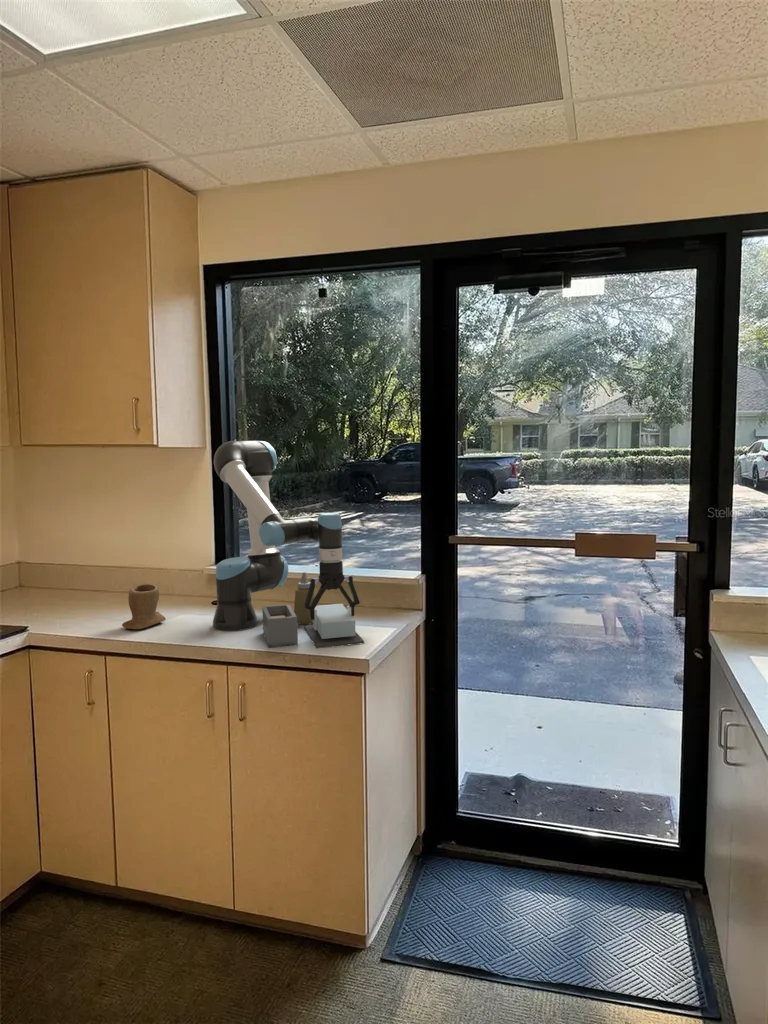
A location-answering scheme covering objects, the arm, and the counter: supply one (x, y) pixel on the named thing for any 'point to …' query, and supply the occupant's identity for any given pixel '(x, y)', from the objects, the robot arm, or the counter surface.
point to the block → (334, 621)
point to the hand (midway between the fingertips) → (332, 627)
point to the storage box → (280, 626)
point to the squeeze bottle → (302, 601)
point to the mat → (331, 639)
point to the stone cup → (143, 607)
